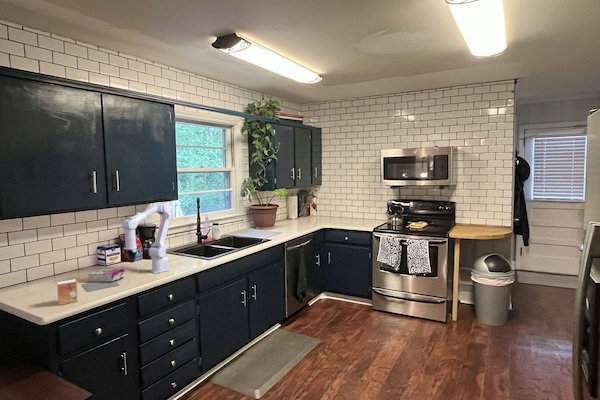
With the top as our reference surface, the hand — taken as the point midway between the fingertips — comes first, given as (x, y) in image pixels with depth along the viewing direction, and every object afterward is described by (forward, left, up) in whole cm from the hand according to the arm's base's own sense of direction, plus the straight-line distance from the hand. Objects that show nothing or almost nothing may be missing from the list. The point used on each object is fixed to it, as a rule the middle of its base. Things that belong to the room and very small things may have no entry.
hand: (132, 262), depth 222 cm
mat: (+17, 0, -10) cm, 20 cm away
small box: (+36, +19, -10) cm, 42 cm away
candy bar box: (+7, -1, -7) cm, 10 cm away
